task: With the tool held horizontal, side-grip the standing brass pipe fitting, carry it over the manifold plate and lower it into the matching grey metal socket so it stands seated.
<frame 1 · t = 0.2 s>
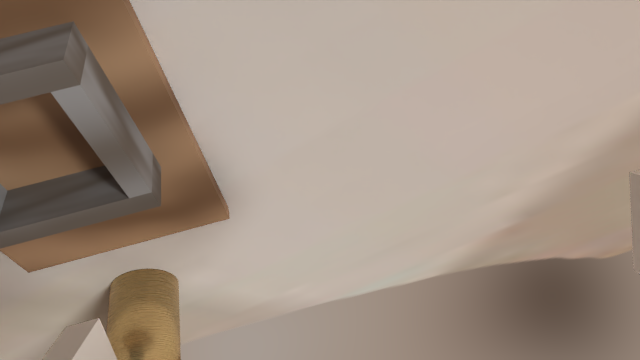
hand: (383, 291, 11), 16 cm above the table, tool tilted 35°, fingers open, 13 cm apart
manifold plate: (35, 116, 23), on the table
brass fitting: (145, 286, 36), on the table
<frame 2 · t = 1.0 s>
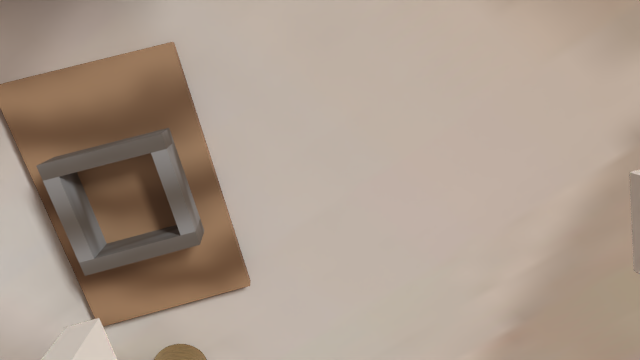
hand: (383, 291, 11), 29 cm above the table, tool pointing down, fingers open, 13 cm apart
manifold plate: (135, 192, 38), on the table
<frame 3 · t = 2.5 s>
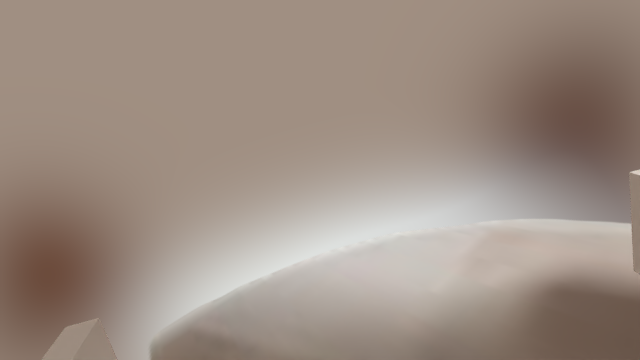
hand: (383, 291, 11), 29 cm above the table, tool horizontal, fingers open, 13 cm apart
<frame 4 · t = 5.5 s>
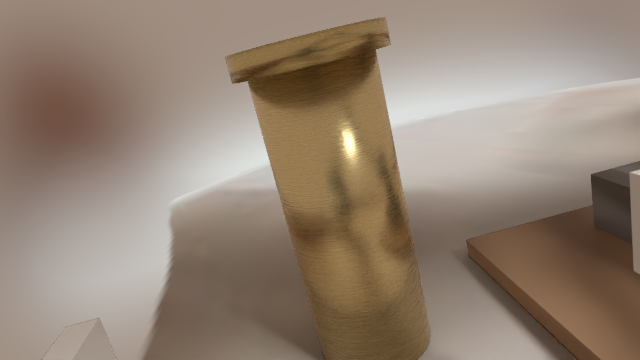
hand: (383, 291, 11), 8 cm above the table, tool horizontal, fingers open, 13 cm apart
brass fitting: (375, 337, 21), on the table
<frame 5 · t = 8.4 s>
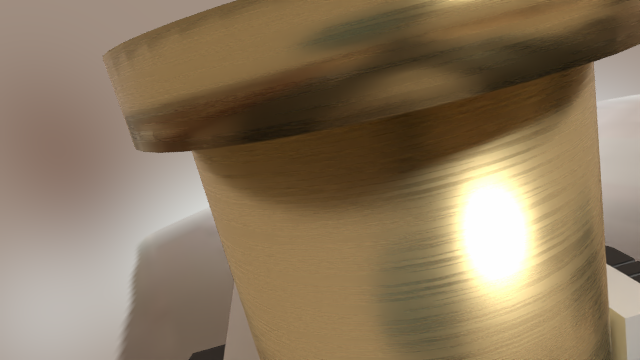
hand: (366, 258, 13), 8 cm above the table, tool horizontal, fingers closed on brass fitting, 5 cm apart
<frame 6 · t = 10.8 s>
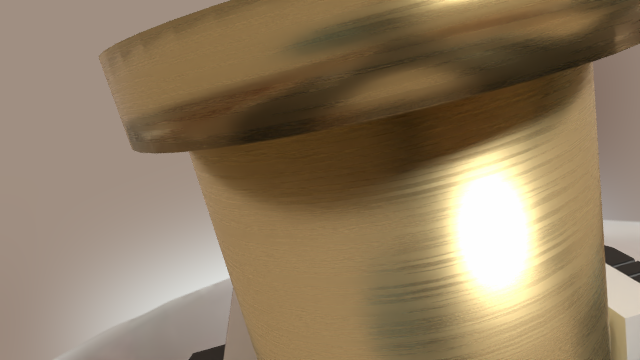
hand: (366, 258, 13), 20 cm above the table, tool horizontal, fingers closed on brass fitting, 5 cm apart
when the fingers open (10 cm above the table, at t = 13.2 s): brass fitting drops 1 cm, resting on manifold plate.
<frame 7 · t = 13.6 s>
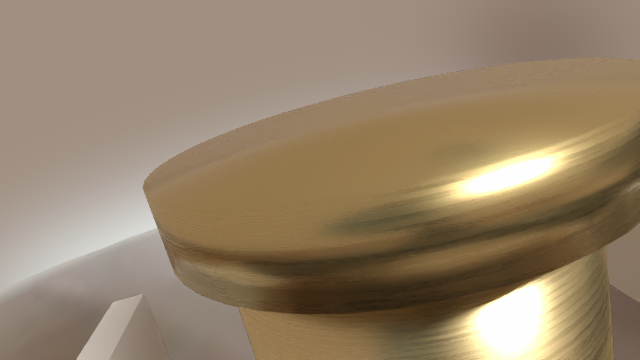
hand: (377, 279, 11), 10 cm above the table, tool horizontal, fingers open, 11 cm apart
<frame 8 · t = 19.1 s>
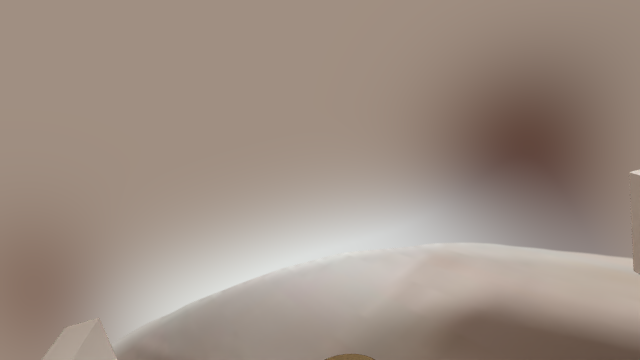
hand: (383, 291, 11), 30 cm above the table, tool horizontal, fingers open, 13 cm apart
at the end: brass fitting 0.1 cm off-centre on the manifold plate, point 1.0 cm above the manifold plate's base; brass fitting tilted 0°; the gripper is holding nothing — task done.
